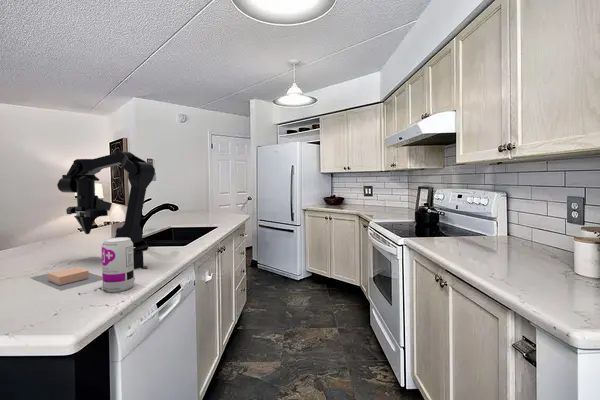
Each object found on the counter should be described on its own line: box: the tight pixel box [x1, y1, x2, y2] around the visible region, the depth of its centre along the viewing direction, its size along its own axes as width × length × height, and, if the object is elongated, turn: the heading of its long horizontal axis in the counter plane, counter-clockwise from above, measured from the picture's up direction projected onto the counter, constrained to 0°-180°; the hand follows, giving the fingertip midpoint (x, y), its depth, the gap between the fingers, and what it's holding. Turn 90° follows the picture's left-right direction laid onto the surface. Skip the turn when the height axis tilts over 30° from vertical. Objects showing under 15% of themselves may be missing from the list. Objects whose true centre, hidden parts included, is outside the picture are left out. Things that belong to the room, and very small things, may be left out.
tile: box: [46, 266, 90, 286], centre depth 100 cm, size 3×8×8 cm
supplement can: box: [101, 237, 135, 293], centre depth 95 cm, size 8×8×15 cm
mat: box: [29, 272, 103, 291], centre depth 102 cm, size 22×13×1 cm, turn 59°
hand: (87, 233), depth 120 cm, fingers closed
